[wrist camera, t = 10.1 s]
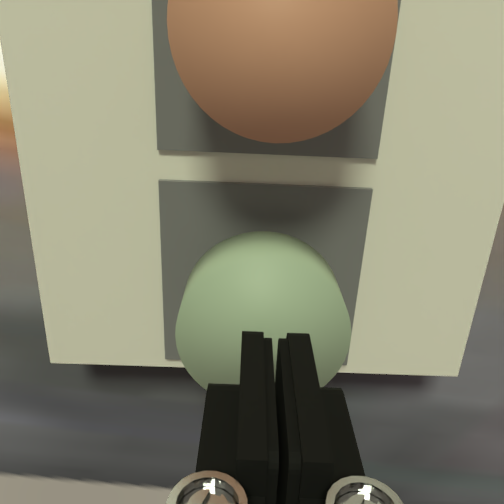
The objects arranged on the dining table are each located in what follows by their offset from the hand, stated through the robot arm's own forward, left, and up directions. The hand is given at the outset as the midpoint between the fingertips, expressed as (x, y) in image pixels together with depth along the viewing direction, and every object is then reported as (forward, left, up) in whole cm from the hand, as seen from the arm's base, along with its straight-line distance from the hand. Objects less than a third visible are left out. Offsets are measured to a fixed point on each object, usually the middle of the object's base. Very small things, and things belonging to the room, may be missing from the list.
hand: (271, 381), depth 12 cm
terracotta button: (0, +8, -4) cm, 9 cm away
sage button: (0, 0, -4) cm, 4 cm away
